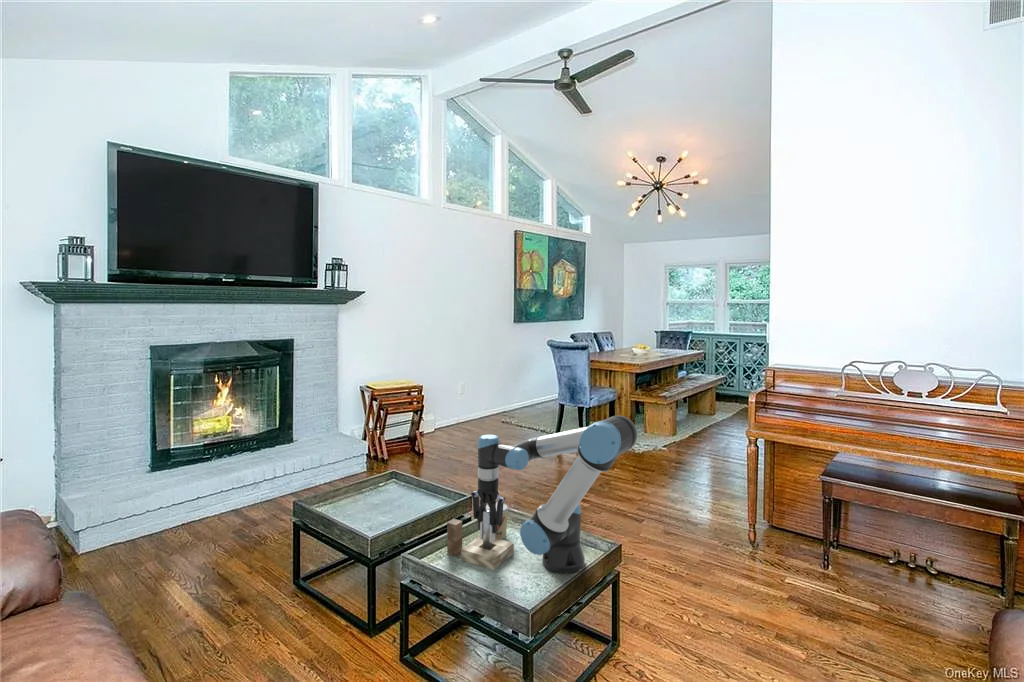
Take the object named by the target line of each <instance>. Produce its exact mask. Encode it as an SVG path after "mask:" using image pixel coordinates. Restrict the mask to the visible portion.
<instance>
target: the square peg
mask: <svg viewBox="0 0 1024 682" xmlns="http://www.w3.org/2000/svg"><path fill="white" fill-rule="evenodd" d="M446 525H447V526H446V531H447V532H446V533H447V534H446V540H447V541H446V542H447V545H446V546H447V548H446V551H447V553H446V554H447V555H450V556H453V557H458V556H459V555H461V549H462V548H463V520H459V519H457V518H452V519H451V520H449V521H447V522H446Z"/></svg>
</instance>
